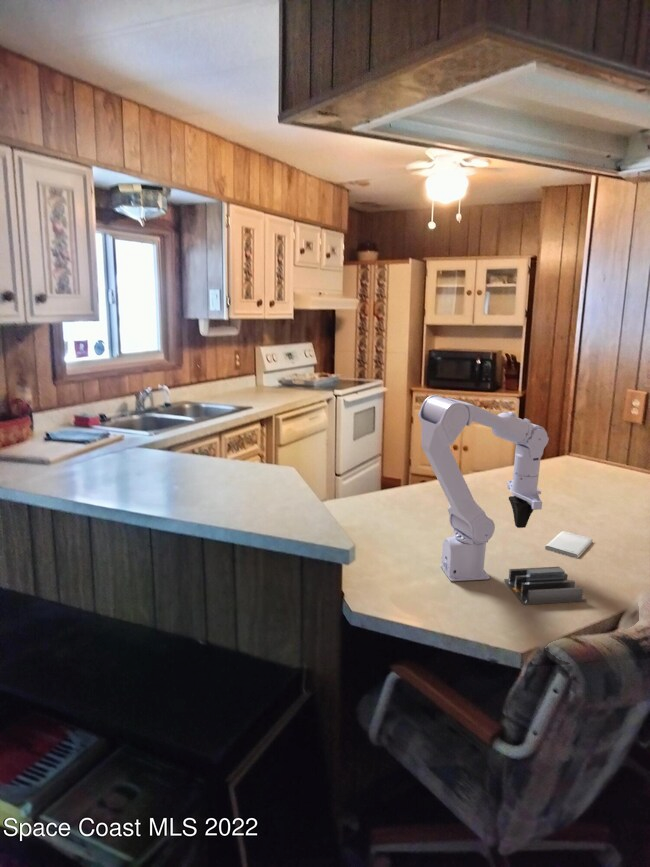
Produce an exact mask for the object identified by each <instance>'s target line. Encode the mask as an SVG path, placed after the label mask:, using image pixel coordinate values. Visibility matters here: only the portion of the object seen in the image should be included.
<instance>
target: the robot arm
mask: <svg viewBox="0 0 650 867" xmlns="http://www.w3.org/2000/svg"><path fill="white" fill-rule="evenodd" d="M417 417H418V419H419V421H420V424H421V425H420V426H421V427H420V432H421V438H420V439H421V444H420V445H421V449H422V451H423V453H424V455H425V456H426V459H427V460H428V464H429V465H430V467H431V469H432V471H433V473H434V475H435V478H437V481H438V483H439V486H440V487H441V489H442V491H443V494H444V496H445V497H446V500H447V502H448V504H449V506H448V508H447V512H448V515H449V516H448V518H449V520H448V522H449V524H450V526H451V528H453V534H454V535H453V536H450V537H445V538H444V540H443V542H442V552H441V553H442V554H441V563H440V564H439V565H440V567H441V569H442V571H443V572H444V573H445V576H447V578H448V579H449V581H450V582H461V581H465V582H466V581H481V580H484V581H485V580H490V579H491V577H490V575H489V574H488V573H487V571H486V570H485V559H486V558H485V557H486V551H487V550H486V549H487V543H489V541H490V539H491V538H492V537H493V535H494V533H495V527H496V526H495V522H494V520H493V519H491V518H490V517H488V516H487V514H486V512H485V511H484V509H482V507H481V506H480V505H479V504H478V503H477V502H476V500H475V499H474V497H473V495H472V493H471V491H470V488H469V486H468V483H467V481H466V480H465V478H464V475H463V474H462V471H461V469H460V467H459V465H458V463H457V461H456V458H455V457H454V455H453V452H452V450H451V448H450V446H452V445H453V444H454V442H456V440H457V438H458V437H459V436H460V434H461V433H462V432H463V430H464V429H465V427H466V426H467V427H470V426H471V424H472V422H474V423H476V424H479V425H482V426H485V427H487V428H490V429H491V431H492V434H493V435H494V436H495V437H497V438H499V439H503V440H505V441H507V442H510V443H513V444H515V453H514V462H513V463H514V464H513V471H512V472H513V473H512V474H513V475H512V480H507V481H506V482H507V483H506V489H508V490H509V491H510V494H512V496H511V495H510V496H508V501H509V503H510V506H511V509H512V513H513V521H514V525H515V527H516V528H517V529H523V528H526V527H527V525H528V522H529V520H530V517H531V516H532V513H533V512H534V511H535V510H536V511H537V510H542V509H543V501H542V500H541V499H540V495H541V494H542V490H540V489H539V488H538V483H539V475H540V474H539V473H540V466H541V458H542V456H543V455H544V449H545V448H546V446H547V445H548V443H549V440H550V438H549V437H548V432H547V430H546V429H545V427H544V426H541V425H538V424H534V423H532V422H531V420H530V419H528V418H523V419H522V418H520V417H518V416H517V414H516V413H515V412H512V411H507V412H501V413H498V414H495V413H494V412H493V413H492V412H491V411H488V410H486V409H485V408H484V409H483V408H482V407H480V406H477V405H475V404H473V403H469V402H466V401H463V400H459V399H454V398H449V397H442V396H441V395H438V394H431V395H430V396H428V397H427V398H425V399H424V400H423V402H422V404H421V406H420V409H419V412H418V414H417Z"/></svg>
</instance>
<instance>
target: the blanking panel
mask: <svg viewBox="0 0 650 867" xmlns="http://www.w3.org/2000/svg"><path fill="white" fill-rule="evenodd" d="M565 573H566V572H565V570H564V569H563V568H562V567H560V568H553V569H533V570H527V576H526V583H528V582H546V581H564V574H565Z"/></svg>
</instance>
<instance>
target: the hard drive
mask: <svg viewBox="0 0 650 867" xmlns="http://www.w3.org/2000/svg"><path fill="white" fill-rule="evenodd" d="M592 543H593V538H590V537H587V536H585V535H584V536H583V535H579V534H576V533H572V532H568V531H564V530H561V531H560V532H559V533H558V534H557V535H556V536H554V538H552V539H551V540H550V541H549V542H548V543H547V544H545V547H544V549H545V550H547V551H550V550H551V552H553V551H554V552H555V553H557V552H558V554H560V553H561V554H562V555H564V554H565V556H567V555H568V557H572V558H574V557H575V558H574V559H579V557H580V556H581V555H582V554H583V553H584V552H585V551H586V550H587V549H588V548H589V547H590V546H591V545H592Z"/></svg>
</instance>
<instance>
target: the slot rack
mask: <svg viewBox="0 0 650 867" xmlns="http://www.w3.org/2000/svg"><path fill="white" fill-rule="evenodd" d="M553 568H561V567H560V566H544V567H543V566H542V567H527V568H526V567H524V568H509V570H508V578H504V580H503V581H504V583H505V584H506V585H507V587H509V588H510V590H511V591H512V592H513V593H514V595H515V596H516V597H517V598H518V599H519V602H521V603H522V605H524V606H529V605H548V604H564V603H565V604H566V603H581V602H587V601H586V600H587V599H586V598H585V597H584V596H583V591H584V588H583V587H580V586H578V587H577V586H576V587H575V585H576V581H575V580H574V579H569V580H568V575H569V574H568V573H566V572H565V574H564V581H546V582H528V583H526V576H527V570H533V569H553Z"/></svg>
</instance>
